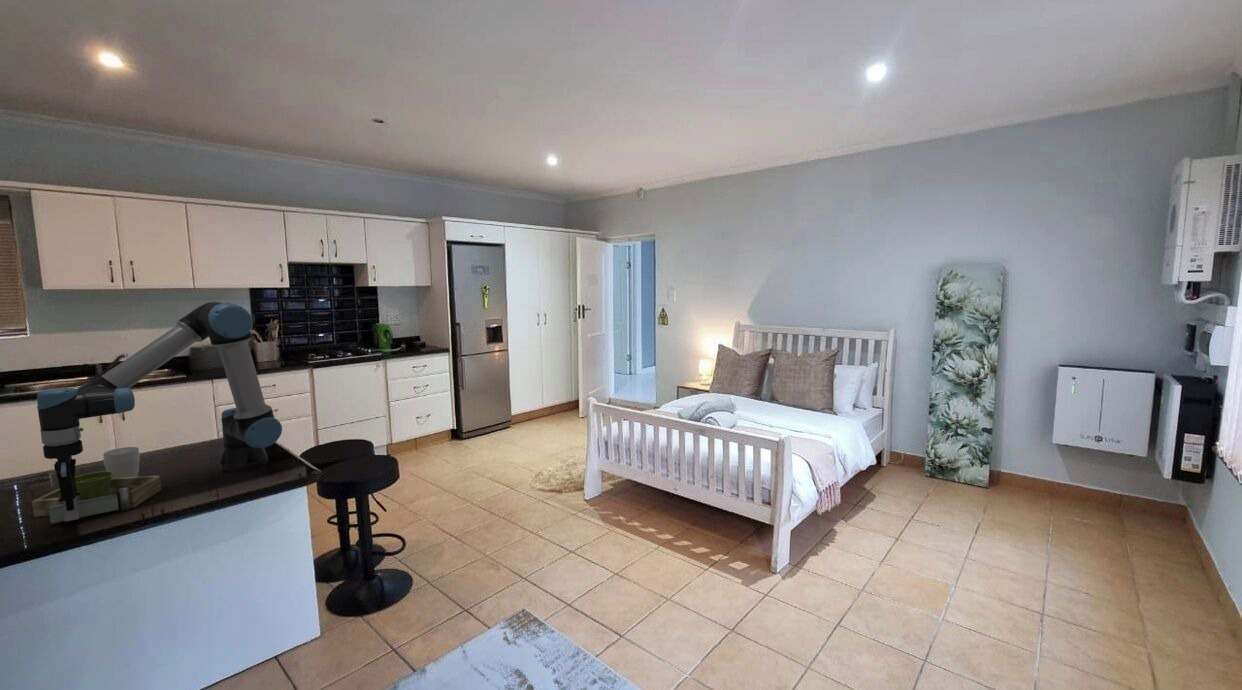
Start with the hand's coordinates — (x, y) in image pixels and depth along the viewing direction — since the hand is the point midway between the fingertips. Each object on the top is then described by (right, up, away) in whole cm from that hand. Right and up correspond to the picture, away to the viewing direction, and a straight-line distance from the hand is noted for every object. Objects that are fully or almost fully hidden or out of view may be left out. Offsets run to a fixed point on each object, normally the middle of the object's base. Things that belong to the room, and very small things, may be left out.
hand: (72, 519), depth 146 cm
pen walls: (-6, +1, +14) cm, 16 cm away
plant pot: (-8, 0, +14) cm, 16 cm away
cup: (-13, +2, +28) cm, 31 cm away
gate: (0, 0, +4) cm, 4 cm away
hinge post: (+6, 0, +10) cm, 11 cm away
